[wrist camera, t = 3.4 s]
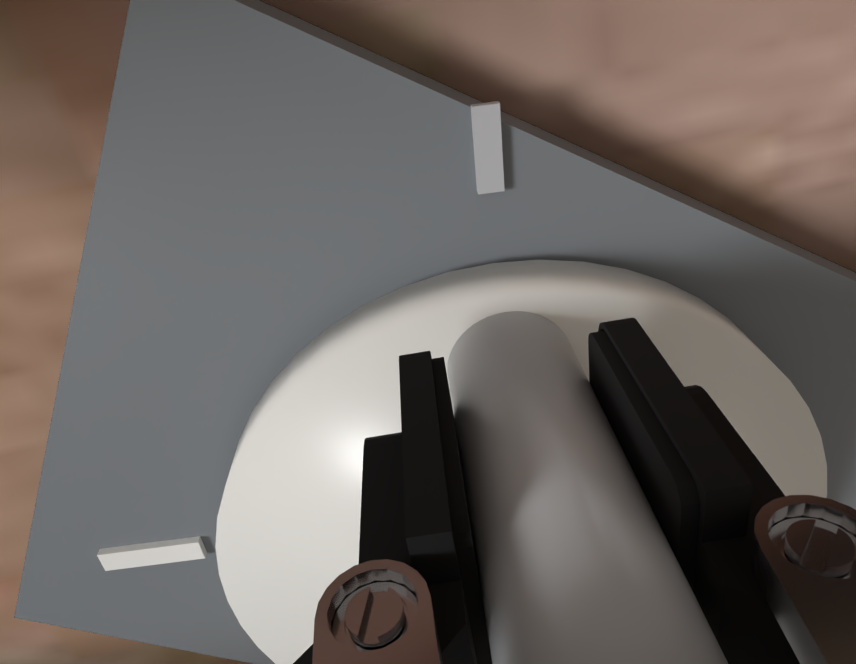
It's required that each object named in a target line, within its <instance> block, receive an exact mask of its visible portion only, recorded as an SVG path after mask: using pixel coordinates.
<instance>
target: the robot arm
mask: <svg viewBox="0 0 856 664" xmlns="http://www.w3.org/2000/svg"><path fill="white" fill-rule="evenodd" d="M588 352H589V383H590V385H591V387H592V389H593V391H594V393H595V395H596V397H597V399H598V401H599V403H600V405H601V407H602V409H603V411H604V413H605V415H606V417H607V419H608V421H609V423H610V425H611V427H612V429H613V431H614V433H615V435H616V437H617V439H618V441H619V443H620V445H621V447H622V449H623V451H624V453H625V456H626V458H627V460H628V462H629V464H630V466H631V468H632V470H633V472H634V474H635V476H636V478H637V480H638V482H639V484H640V486H641V488H642V490H643V492H644V494H645V496H646V498H647V500H648V502H649V504H650V506H651V508H652V510H653V512H654V514H655V516H656V518H657V520H658V522H659V524H660V526H661V528H662V530H663V532H664V534H665V536H666V538H667V541H668V543H669V545H670V547H671V549H672V551H673V553H674V555H675V557H676V559H677V561H678V563H679V565H680V567H681V569H682V571H683V573H684V575H685V577H686V579H687V581H688V583H689V585H690V587H691V589H692V591H693V593H694V595H695V597H696V599H697V601H698V603H699V605H700V607H701V609H702V611H703V613H704V615H705V617H706V619H707V621H708V623H709V626H710V628H711V630H712V632H713V634H714V636H715V638H716V640H717V642H718V644H719V646H720V648H721V650H722V652H723V654H724V656H725V658H726V660H727V662H728V664H856V510H855V509H854V508H852V507H850V506H848V505H845V504H842V503H840V502H837V501H835V500H832V499H828V498H823V497H818V496H813V495H789V496H785V495H784V493H783V492H782V491H781V489H780V488H779V487H778V485H777V484H776V483H775V481H774V480H773V479H772V477H771V476H770V475H769V473H768V472H767V471H766V470H765V468H764V467H763V466H762V464H761V463H760V462H759V460H758V459H757V458H756V456H755V455H754V454H753V452H752V451H751V450H750V448H749V447H748V446H747V444H746V443H745V442H744V440H743V439H742V438H741V436H740V435H739V434H738V433H737V431H736V430H735V429H734V427H733V426H732V425H731V423H730V422H729V421H728V419H727V418H726V417H725V415H724V414H723V413H722V411H721V410H720V409H719V407H718V406H717V405H716V403H715V402H714V401H713V399H712V398H711V397H710V396H709V394H708V393H707V392H706V391H705V390H704V389H703V388H702V387H701V386H698V385H692V386H686V387H684V386H683V384H682V383H681V381H680V380H679V379H678V377H677V376H676V374H675V373H674V372H673V370H672V369H671V367H670V366H669V365H668V363H667V362H666V360H665V359H664V358H663V356H662V355H661V353H660V352H659V351H658V349H657V348H656V346H655V345H654V343H653V342H652V341H651V339H650V338H649V336H648V335H647V334H646V332H645V331H644V329H643V328H642V327H641V325H640V324H639V322H638V321H637V320H636V319H635V318H626V319H620V320H614V321H608V322H601V323H600V324H599V328H598V332H593V333H590V334H589V336H588ZM399 377H400V404H401V430H402V432H399V433H393V434H387V435H381V436H374V437H368V438H365V440H364V447H363V471H362V494H361V517H360V541H359V564H358V565H355V566H353V567H351V568H350V569H348V570H346V571H345V572H343V573H342V574H340V575H339V576H338V577H337V578H336V579H335V580H334V581H333V582H332V583H331V584H330V585H329V586H328V587H327V588H326V590H325V592H324V593H323V595H322V597H321V599H320V600H319V602H318V606H317V610H316V615H315V619H314V638H313V644H312V645H311V646H310V647H309V648H308V649H307V650H306V651H305V652H304V653H303V654H302V655H301V656H300V657H299V658H298V659H297V660H296V661H295V662H294V663H293V664H492V658H491V651H490V645H489V638H488V632H487V625H486V619H485V613H484V606H483V600H482V593H481V587H480V581H479V574H478V568H477V561H476V555H475V548H474V542H473V536H472V529H471V523H470V516H469V510H468V504H467V497H466V491H465V484H464V478H463V471H462V465H461V459H460V452H459V446H458V439H457V433H456V427H455V420H454V414H453V408H452V402H451V396H450V390H449V384H448V379H447V373H446V367H445V361H444V357H440V358H434V359H432V357H431V352H430V351H424V352H418V353H412V354H406V355H400V356H399Z"/></svg>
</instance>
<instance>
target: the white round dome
mask: <svg viewBox="0 0 856 664" xmlns="http://www.w3.org/2000/svg"><path fill="white" fill-rule="evenodd" d="M626 318H635V319H636V320H637V321H638V322H639V324H640V325H641V327H642V328H643V329H644V331H645V332H646V334H647V335H648V336H649V338H650V339H651V341H652V342H653V343H654V345H655V346H656V348H657V349H658V351H659V352H660V353H661V355H662V356H663V358H664V359H665V360H666V362H667V363H668V365H669V366H670V367H671V369H672V370H673V372H674V373H675V374H676V376H677V377H678V379H679V380H680V381H681V383H682V384H683V386H684V387H686V386H692V385H698V386H701V387H702V388H703V389H704V390H705V391H706V392H707V393H708V394H709V396H710V397H711V398H712V399H713V401H714V402H715V403H716V405H717V406H718V407H719V409H720V410H721V411H722V413H723V414H724V415H725V417H726V418H727V419H728V421H729V422H730V423H731V425H732V426H733V427H734V429H735V430H736V431H737V433H738V434H739V435H740V436H741V438H742V439H743V440H744V442H745V443H746V444H747V446H748V447H749V448H750V450H751V451H752V452H753V454H754V455H755V456H756V458H757V459H758V460H759V462H760V463H761V464H762V466H763V467H764V468H765V470H766V471H767V472H768V473H769V475H770V476H771V477H772V479H773V480H774V481H775V483H776V484H777V485H778V487H779V488H780V489H781V491H782V492H783V493H784V495H785V496H789V495H813V496H818V497H823V498H827V462H826V458H825V453H824V448H823V443H822V438H821V435H820V432H819V430H818V428H817V425H816V423H815V421H814V418H813V416H812V414H811V411H810V409H809V407H808V406H807V404H806V403H805V401H804V400H803V398H802V397H801V395H800V394H799V393H798V391H797V390H796V388H795V387H794V385H793V384H792V382H791V381H790V380H789V379H788V378H787V377H786V376H785V375H784V374H783V373H782V372H781V371H780V370H779V369H778V368H777V367H776V366H775V364H774V363H773V362H772V361H771V360H770V359H769V358H768V357H767V356H766V355H765V354H764V353H763V352H762V351H761V350H760V349H759V348H758V347H757V346H756V345H755V344H754V343H753V342H752V341H751V340H750V339H749V338H748V337H747V336H746V335H745V334H744V333H743V332H742V331H741V330H740V329H739V328H738V327H737V326H736V325H735V324H734V323H733V322H732V321H731V320H730V319H729V318H727V317H726V316H724V315H723V314H721V313H720V312H719V311H717V310H716V309H714V308H713V307H711V306H710V305H709V304H707V303H706V302H704V301H703V300H701V299H700V298H698V297H696V296H694V295H692V294H690V293H688V292H686V291H684V290H682V289H680V288H678V287H675V286H673V285H671V284H669V283H667V282H665V281H662V280H659V279H656V278H653V277H650V276H647V275H643V274H640V273H637V272H634V271H631V270H628V269H623V268H618V267H612V266H606V265H600V264H595V263H589V262H582V261H560V260H526V261H513V262H501V263H491V264H486V265H481V266H476V267H471V268H466V269H461V270H456V271H451V272H446V273H443V274H440V275H437V276H434V277H431V278H428V279H425V280H422V281H419V282H416V283H413V284H410V285H407V286H404V287H402V288H399V289H397V290H395V291H393V292H391V293H389V294H387V295H384V296H382V297H380V298H378V299H376V300H374V301H372V302H369V303H367V304H365V305H363V306H362V307H360V308H359V309H357V310H355V311H354V312H352V313H351V314H349V315H347V316H346V317H344V318H343V319H341V320H339V321H338V322H336V323H335V324H333V325H332V326H330V327H328V328H327V329H326V330H325V331H323V332H322V333H321V334H320V335H319V336H317V337H316V338H315V339H314V340H313V341H311V342H310V343H309V344H308V345H307V346H305V347H304V348H303V349H302V350H301V351H299V352H298V353H297V354H296V355H295V356H294V357H293V359H292V360H291V361H290V362H289V363H288V364H287V365H286V366H285V367H284V368H283V370H282V371H281V372H280V373H279V374H278V375H277V376H276V377H275V378H274V379H273V381H272V382H271V383H270V385H269V386H268V388H267V389H266V391H265V392H264V394H263V395H262V397H261V398H260V400H259V401H258V403H257V404H256V406H255V408H254V409H253V411H252V413H251V415H250V417H249V420H248V422H247V424H246V426H245V428H244V431H243V433H242V435H241V437H240V439H239V443H238V446H237V449H236V452H235V456H234V459H233V462H232V465H231V469H230V472H229V475H228V479H227V482H226V485H225V489H224V493H223V497H222V501H221V504H220V508H219V512H218V516H217V528H216V545H215V548H216V556H217V563H218V571H219V577H220V580H221V583H222V586H223V589H224V592H225V595H226V598H227V601H228V603H229V605H230V607H231V608H232V610H233V612H234V614H235V616H236V618H237V619H238V621H239V623H240V625H241V626H242V628H243V629H244V630H245V632H246V633H247V634H248V635H249V637H250V638H251V639H252V640H253V642H254V643H255V644H256V646H257V647H258V648H259V649H260V650H261V651H262V652H263V653H264V654H265V655H267V656H268V657H269V658H270V659H271V660H272V661H273V662H274V663H275V664H293V663H294V662H295V661H296V660H297V659H298V658H299V657H300V656H301V655H302V654H303V653H304V652H305V651H306V650H307V649H308V648H309V647H310V646H311V645H312V644H313V638H314V619H315V615H316V610H317V606H318V602H319V600H320V599H321V597H322V595H323V593H324V592H325V590H326V588H327V587H328V586H329V585H330V584H331V583H332V582H333V581H334V580H335V579H336V578H337V577H338V576H339V575H340V574H342V573H343V572H345V571H346V570H348V569H350V568H351V567H353V566H355V565H358V564H359V541H360V517H361V494H362V471H363V447H364V440H365V438H368V437H374V436H381V435H387V434H393V433H399V432H402V430H401V404H400V377H399V356H400V355H406V354H412V353H418V352H424V351H430V352H431V357H432V359H434V358H440V357H444V361H445V367H446V373H447V379H448V384H449V390H450V396H451V402H452V408H453V414H454V420H455V427H456V433H457V439H458V446H459V452H460V459H461V465H462V471H463V478H464V484H465V491H466V497H467V504H468V510H469V516H470V523H471V529H472V536H473V542H474V548H475V555H476V561H477V568H478V574H479V581H480V587H481V593H482V600H483V606H484V613H485V619H486V625H487V632H488V638H489V645H490V651H491V658H492V664H728V662H727V660H726V658H725V656H724V654H723V652H722V650H721V648H720V646H719V644H718V642H717V640H716V638H715V636H714V634H713V632H712V630H711V628H710V626H709V623H708V621H707V619H706V617H705V615H704V613H703V611H702V609H701V607H700V605H699V603H698V601H697V599H696V597H695V595H694V593H693V591H692V589H691V587H690V585H689V583H688V581H687V579H686V577H685V575H684V573H683V571H682V569H681V567H680V565H679V563H678V561H677V559H676V557H675V555H674V553H673V551H672V549H671V547H670V545H669V543H668V541H667V538H666V536H665V534H664V532H663V530H662V528H661V526H660V524H659V522H658V520H657V518H656V516H655V514H654V512H653V510H652V508H651V506H650V504H649V502H648V500H647V498H646V496H645V494H644V492H643V490H642V488H641V486H640V484H639V482H638V480H637V478H636V476H635V474H634V472H633V470H632V468H631V466H630V464H629V462H628V460H627V458H626V456H625V453H624V451H623V449H622V447H621V445H620V443H619V441H618V439H617V437H616V435H615V433H614V431H613V429H612V427H611V425H610V423H609V421H608V419H607V417H606V415H605V413H604V411H603V409H602V407H601V405H600V403H599V401H598V399H597V397H596V395H595V393H594V391H593V389H592V387H591V385H590V383H589V352H588V336H589V334H590V333H593V332H598V328H599V324H600V323H601V322H608V321H614V320H620V319H626Z"/></svg>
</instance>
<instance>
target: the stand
mask: <svg viewBox="0 0 856 664" xmlns="http://www.w3.org/2000/svg"><path fill="white" fill-rule="evenodd" d="M526 260H560V261H582V262H589V263H595V264H600V265H606V266H612V267H618V268H623V269H628V270H631V271H634V272H637V273H640V274H643V275H647V276H650V277H653V278H656V279H659V280H662V281H665V282H667V283H669V284H671V285H673V286H675V287H678V288H680V289H682V290H684V291H686V292H688V293H690V294H692V295H694V296H696V297H698V298H700V299H701V300H703V301H704V302H706V303H707V304H709V305H710V306H711V307H713V308H714V309H716V310H717V311H719V312H720V313H721V314H723V315H724V316H726V317H727V318H729V319H730V320H731V321H732V322H733V323H734V324H735V325H736V326H737V327H738V328H739V329H740V330H741V331H742V332H743V333H744V334H745V335H746V336H747V337H748V338H749V339H750V340H751V341H752V342H753V343H754V344H755V345H756V346H757V347H758V348H759V349H760V350H761V351H762V352H763V353H764V354H765V355H766V356H767V357H768V358H769V359H770V360H771V361H772V362H773V363H774V364H775V366H776V367H777V368H778V369H779V370H780V371H781V372H782V373H783V374H784V375H785V376H786V377H787V378H788V379H789V380H790V381H791V382H792V384H793V385H794V387H795V388H796V390H797V391H798V393H799V394H800V395H801V397H802V398H803V400H804V401H805V403H806V404H807V406H808V407H809V409H810V411H811V414H812V416H813V418H814V421H815V423H816V425H817V428H818V430H819V432H820V435H821V438H822V443H823V448H824V453H825V458H826V462H827V498H828V499H832V500H835V501H837V502H840V503H842V504H845V505H848V506H850V507H852V508H854V509H855V510H856V273H855V272H853V271H851V270H848V269H846V268H844V267H842V266H840V265H838V264H835V263H833V262H831V261H829V260H827V259H824V258H822V257H820V256H818V255H816V254H813V253H811V252H809V251H807V250H805V249H803V248H800V247H798V246H796V245H794V244H792V243H789V242H787V241H785V240H783V239H781V238H778V237H776V236H774V235H772V234H770V233H768V232H765V231H763V230H761V229H759V228H757V227H754V226H752V225H750V224H748V223H746V222H743V221H741V220H739V219H737V218H735V217H733V216H730V215H728V214H726V213H724V212H722V211H719V210H717V209H715V208H713V207H711V206H708V205H706V204H704V203H702V202H700V201H697V200H695V199H693V198H691V197H689V196H687V195H684V194H682V193H680V192H678V191H676V190H673V189H671V188H669V187H667V186H665V185H662V184H660V183H658V182H656V181H654V180H652V179H649V178H647V177H645V176H643V175H641V174H638V173H636V172H634V171H632V170H630V169H627V168H625V167H623V166H621V165H619V164H617V163H614V162H612V161H610V160H608V159H606V158H603V157H601V156H599V155H597V154H595V153H592V152H590V151H588V150H586V149H584V148H582V147H579V146H577V145H575V144H573V143H571V142H568V141H566V140H564V139H562V138H560V137H557V136H555V135H553V134H551V133H549V132H546V131H544V130H542V129H540V128H538V127H536V126H533V125H531V124H529V123H527V122H525V121H522V120H520V119H518V118H516V117H514V116H511V115H509V114H507V113H505V112H503V111H501V110H500V103H499V101H495V102H487V103H483V102H481V101H479V100H476V99H474V98H472V97H470V96H468V95H466V94H463V93H461V92H459V91H457V90H455V89H452V88H450V87H448V86H446V85H444V84H441V83H439V82H437V81H435V80H433V79H431V78H428V77H426V76H424V75H422V74H420V73H417V72H415V71H413V70H411V69H409V68H406V67H404V66H402V65H400V64H398V63H395V62H393V61H391V60H389V59H387V58H385V57H382V56H380V55H378V54H376V53H374V52H371V51H369V50H367V49H365V48H363V47H360V46H358V45H356V44H354V43H352V42H350V41H347V40H345V39H343V38H341V37H339V36H336V35H334V34H332V33H330V32H328V31H325V30H323V29H321V28H319V27H317V26H315V25H312V24H310V23H308V22H306V21H304V20H301V19H299V18H297V17H295V16H293V15H290V14H288V13H286V12H284V11H282V10H280V9H277V8H275V7H273V6H271V5H269V4H266V3H264V2H262V1H260V0H130V3H129V8H128V14H127V19H126V24H125V30H124V35H123V40H122V46H121V51H120V56H119V62H118V67H117V72H116V78H115V83H114V88H113V94H112V99H111V104H110V110H109V115H108V120H107V126H106V131H105V136H104V142H103V147H102V152H101V158H100V163H99V168H98V174H97V179H96V184H95V190H94V195H93V200H92V206H91V211H90V216H89V221H88V227H87V232H86V237H85V243H84V248H83V253H82V259H81V264H80V269H79V275H78V280H77V285H76V291H75V296H74V301H73V307H72V312H71V317H70V323H69V328H68V333H67V339H66V344H65V349H64V355H63V360H62V365H61V371H60V376H59V381H58V387H57V392H56V397H55V403H54V408H53V413H52V419H51V424H50V429H49V435H48V440H47V445H46V451H45V456H44V461H43V467H42V472H41V477H40V482H39V488H38V493H37V498H36V504H35V509H34V514H33V520H32V525H31V530H30V536H29V541H28V546H27V552H26V557H25V562H24V568H23V573H22V578H21V584H20V589H19V594H18V600H17V605H16V610H15V616H14V618H18V619H24V620H29V621H34V622H39V623H44V624H49V625H55V626H60V627H65V628H70V629H75V630H81V631H86V632H91V633H96V634H101V635H106V636H112V637H117V638H122V639H127V640H132V641H138V642H143V643H148V644H153V645H158V646H164V647H169V648H174V649H179V650H184V651H189V652H195V653H200V654H205V655H210V656H215V657H221V658H226V659H231V660H236V661H241V662H247V663H252V664H275V663H274V662H273V661H272V660H271V659H270V658H269V657H268V656H267V655H265V654H264V653H263V652H262V651H261V650H260V649H259V648H258V647H257V646H256V644H255V643H254V642H253V640H252V639H251V638H250V637H249V635H248V634H247V633H246V632H245V630H244V629H243V628H242V626H241V625H240V623H239V621H238V619H237V618H236V616H235V614H234V612H233V610H232V608H231V607H230V605H229V603H228V601H227V598H226V595H225V592H224V589H223V586H222V583H221V580H220V577H219V571H218V563H217V556H216V548H215V545H216V528H217V516H218V512H219V508H220V504H221V501H222V497H223V493H224V489H225V485H226V482H227V479H228V475H229V472H230V469H231V465H232V462H233V459H234V456H235V452H236V449H237V446H238V443H239V439H240V437H241V435H242V433H243V431H244V428H245V426H246V424H247V422H248V420H249V417H250V415H251V413H252V411H253V409H254V408H255V406H256V404H257V403H258V401H259V400H260V398H261V397H262V395H263V394H264V392H265V391H266V389H267V388H268V386H269V385H270V383H271V382H272V381H273V379H274V378H275V377H276V376H277V375H278V374H279V373H280V372H281V371H282V370H283V368H284V367H285V366H286V365H287V364H288V363H289V362H290V361H291V360H292V359H293V357H294V356H295V355H296V354H297V353H298V352H299V351H301V350H302V349H303V348H304V347H305V346H307V345H308V344H309V343H310V342H311V341H313V340H314V339H315V338H316V337H317V336H319V335H320V334H321V333H322V332H323V331H325V330H326V329H327V328H328V327H330V326H332V325H333V324H335V323H336V322H338V321H339V320H341V319H343V318H344V317H346V316H347V315H349V314H351V313H352V312H354V311H355V310H357V309H359V308H360V307H362V306H363V305H365V304H367V303H369V302H372V301H374V300H376V299H378V298H380V297H382V296H384V295H387V294H389V293H391V292H393V291H395V290H397V289H399V288H402V287H404V286H407V285H410V284H413V283H416V282H419V281H422V280H425V279H428V278H431V277H434V276H437V275H440V274H443V273H446V272H451V271H456V270H461V269H466V268H471V267H476V266H481V265H486V264H491V263H501V262H513V261H526Z"/></svg>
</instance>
